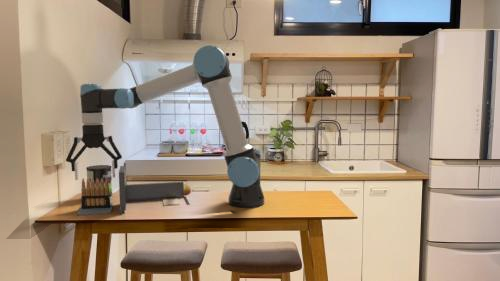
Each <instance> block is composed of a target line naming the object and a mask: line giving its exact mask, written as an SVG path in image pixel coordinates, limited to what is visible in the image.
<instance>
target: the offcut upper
mask: <svg viewBox="0 0 500 281" xmlns="http://www.w3.org/2000/svg"><path fill="white" fill-rule="evenodd" d="M162 202H163V206H164V207H167V206H168V207H169V206H179V205H180V202H179V198H173V199H162Z"/></svg>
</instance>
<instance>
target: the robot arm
mask: <svg viewBox="0 0 500 281" xmlns="http://www.w3.org/2000/svg"><path fill="white" fill-rule="evenodd" d="M232 79H233V77H232V72H231V68H230V60H229V58H228V56H227V54H226V53H224V51H223V50H222V48H220V47H219V46H216V45H212V44H211V45H204V46H201V47H200V48H199V49H197V50H196V52H195V54H194V56H193V62H192V64H190V65H188V66H185V67H183V68H180V69H177V70H175V71H172V72H170V73H167V74H164V75H162V76H160V77H156V78H154V79H152V80H149V81H146V82H144V83H141V84H139V85H136V86H132V87H130V88H122V87H120V88H102V86H101V84H99V83H83V84H81V85H80V90H79V91H80V94H79V97H80V106H81V107H80V108H81V123H82V137H78V136H76V137H73V144H72V146H71V148H70V150H69V152H68V154H67V156H66V158H65V162H67V163H70V164H71V172H74V176H75V177H74V178H75V181H78V180H79V164H78V162H76V161H77V160H78V159H79V158H80V157H81V155H82V154H83V153H84V152H85V150H86V149H87V148H88V149H99V148H101V149H102V150H103V151H104V152H105V153H106V154H107V155H108V156H109V157H110V158H111V159H112V160H111V173H112V179H113V178H116V169H118V166H119V165H118V164H119V163H118V161H119V160H121V159H122V158H123V156H122V154H121V152H120V151H119V149H118V147H117V145H116V144H115V142H114V140H113V136H112V135H109V136H105V135H104V125H103V123H104V119H103V109H135V108H137V107H138V106H139V105H142V104H145V103H147V102H149V101H153V100H155V99H158V98H160V97H163V96H165V95H169V94H170V93H171V94H172V93H174V92H177V91H179V90H183V89H184V88H187V87H190V86H192V85H195V84H198V83H200V84H201V86H202V87H203V88H205V89H206V90H207V92H208V95H209V98H210V101H211V105H212V109H213V110H214V111H213V112H214V115H215V117H216V121H217V124H218V127H219V131H220V134H221V137H222V140H223V143H224V146H225V152H224V155H223V157H224V160H225V163H226V164H225V165H226V166H227V169H226V170H227V177H228V179H229V181H230V182H231V183H232V186H231V189H230V191H229V194H228V204H229V205H230V206H233V207H238V208H254V207H260V206H263V205H264V204H265V195H264V192H263V190H262V189H263V188H262V186H261V157H262V154H261V150H260V149H258V148H254V146H253V145H251V144H249V143H248V140H247V137H246V133H245V130H244V126H243V123H242V120H241V116H240V113H239V109H238V106H237V103H236V100H235V97H234V93H233V90H232V86H231V84H230V83H231V80H232ZM105 141H106V142H108V143H109V144H110V146H111V148H112V149H113V151H114V153H113V152H112V151H111V150H110V149H109V148H108V147H107V146H106V145H105V144H104V142H105ZM80 142H82V143H83V144H84V145H83V146H82V147H81V149H80V150H79V151H78V152H76V155H75V156H74V157H73V155H74V153H75V151H76V149H77V146H78V144H79V143H80ZM115 154H116V155H115ZM72 157H73V158H72Z"/></svg>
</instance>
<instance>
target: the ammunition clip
mask: <svg viewBox="0 0 500 281" xmlns="http://www.w3.org/2000/svg"><path fill="white" fill-rule="evenodd" d="M85 181H86V182H85ZM80 192H81V200H80V201H81V204H80V207H81V209H93V208H110V207H111V205H110V203H111V199H110V194H109V185H108V179H107V178H106V180H105V190H104V182H103V178H101V183H100V188H99V181H98V178H97V179H96V188H95V185H94V179H93V178H92V180H91V189H90V182H89V179H88V178H87V177H86V180H85V178H82V180H81V191H80ZM95 193H96V195H95ZM100 203H101V204H100Z"/></svg>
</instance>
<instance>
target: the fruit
mask: <svg viewBox="0 0 500 281" xmlns="http://www.w3.org/2000/svg"><path fill="white" fill-rule="evenodd" d="M183 185H184V196H187V195H190V194H191V190H192V189H191V187H190V186H189V184H187V183H185V182H183Z"/></svg>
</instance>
